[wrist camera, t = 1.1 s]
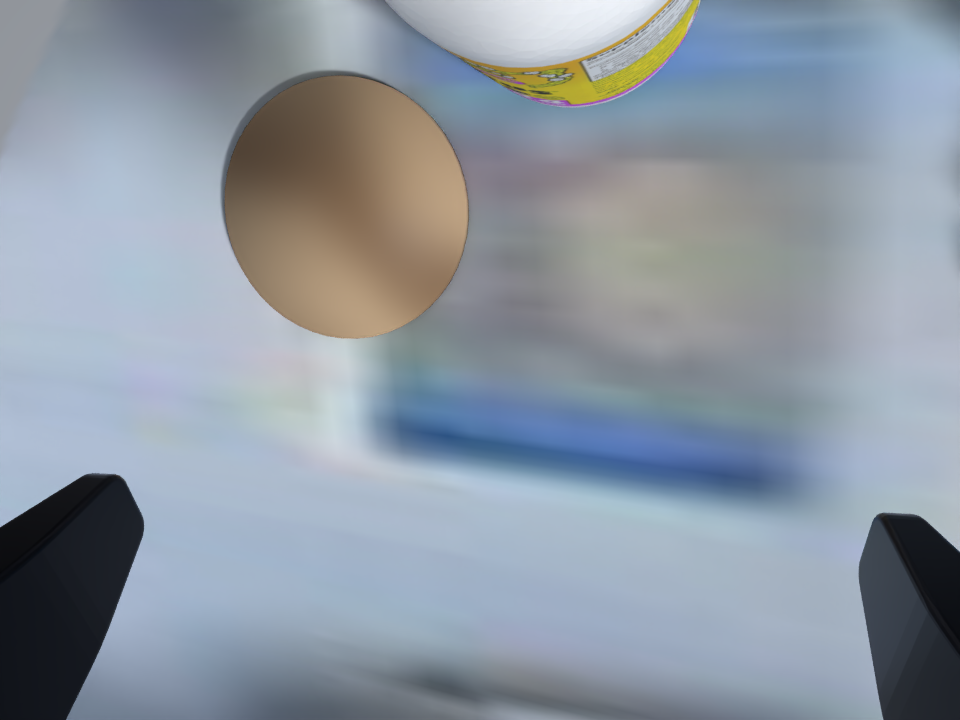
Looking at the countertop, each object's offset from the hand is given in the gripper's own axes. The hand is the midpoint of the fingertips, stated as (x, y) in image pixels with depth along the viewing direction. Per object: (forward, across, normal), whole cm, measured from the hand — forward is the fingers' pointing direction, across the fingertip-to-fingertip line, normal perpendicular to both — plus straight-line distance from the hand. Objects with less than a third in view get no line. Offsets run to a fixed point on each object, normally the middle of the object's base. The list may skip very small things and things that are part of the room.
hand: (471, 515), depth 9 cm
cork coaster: (+15, +7, +3) cm, 17 cm away
